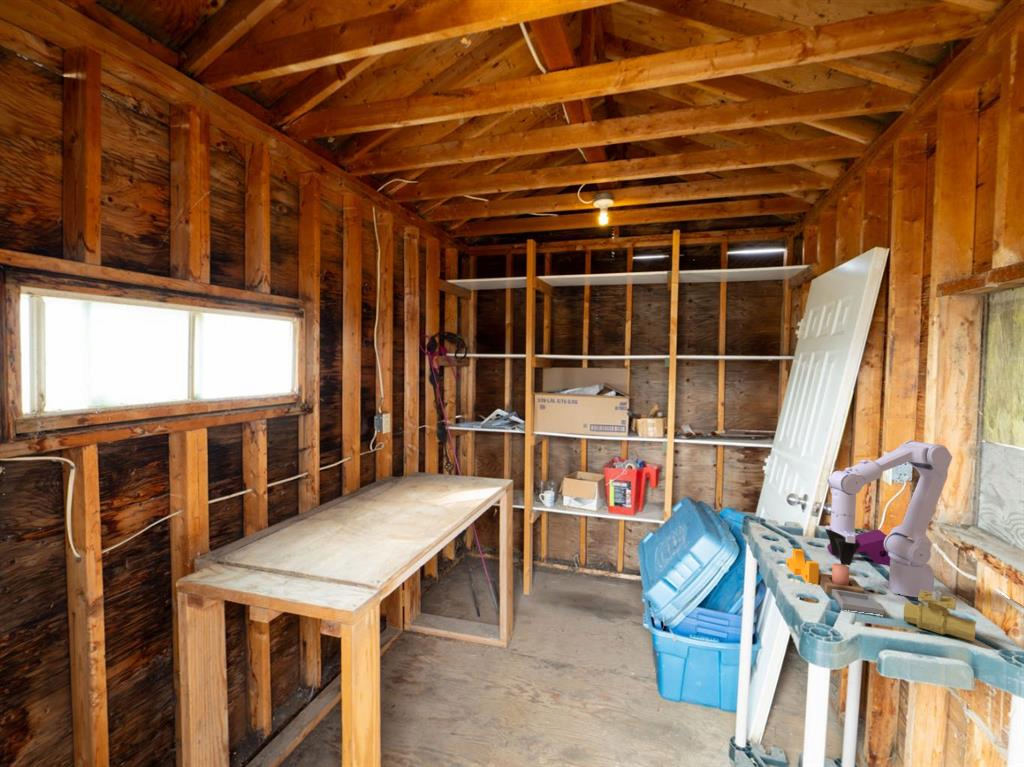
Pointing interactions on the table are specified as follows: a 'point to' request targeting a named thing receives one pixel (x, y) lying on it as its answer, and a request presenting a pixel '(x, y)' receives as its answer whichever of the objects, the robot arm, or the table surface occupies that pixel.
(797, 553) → the pipe clamp
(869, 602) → the tray
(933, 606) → the ball valve
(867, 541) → the mounting bracket
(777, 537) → the table surface
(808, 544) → the table surface
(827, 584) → the square frame
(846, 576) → the plug
